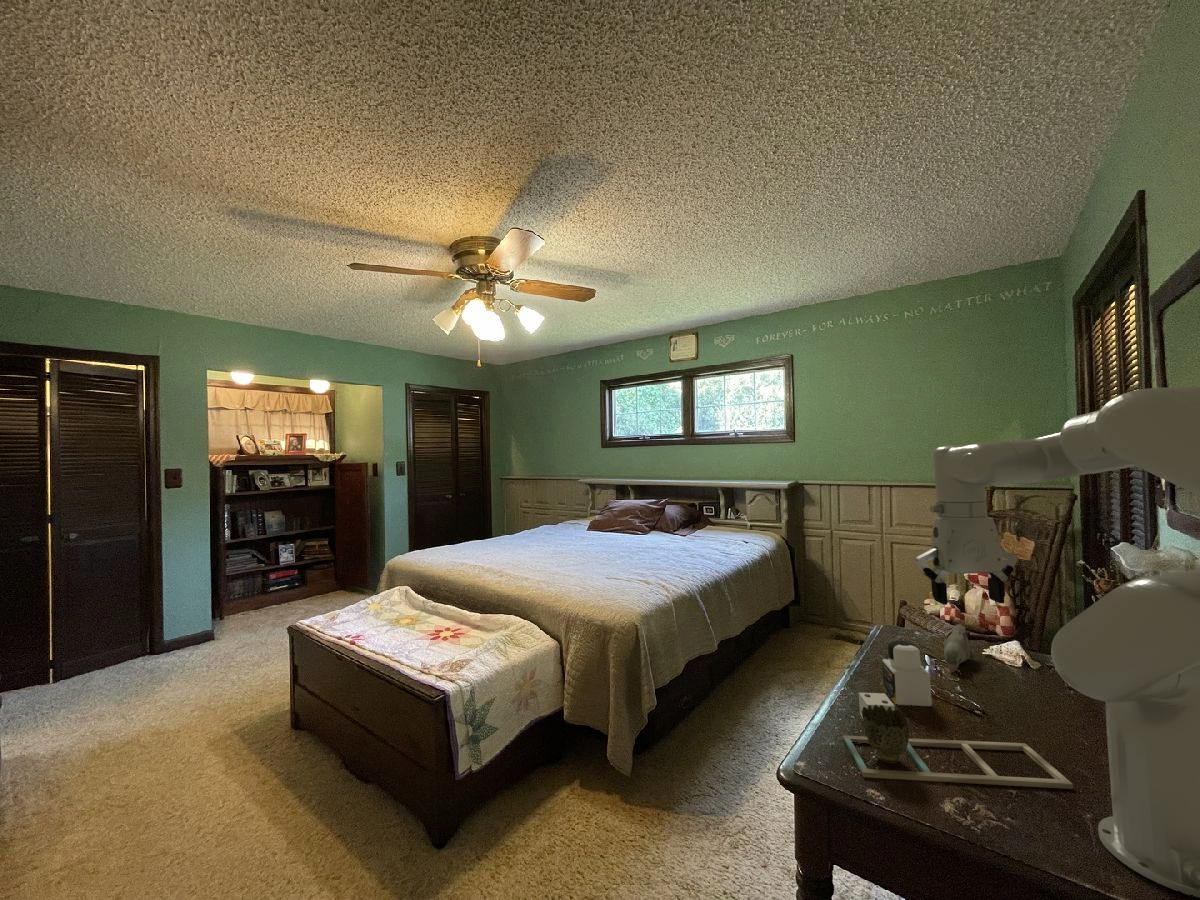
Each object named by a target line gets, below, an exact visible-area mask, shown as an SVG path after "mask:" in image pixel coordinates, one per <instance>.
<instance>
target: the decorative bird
mask: <svg viewBox="0 0 1200 900" xmlns="http://www.w3.org/2000/svg"><path fill="white" fill-rule="evenodd" d="M943 654H944V655H943V659H944V661H945V663H946V666H947V668H948V670H949V671H950V672H951V673H952V672H953V673H955V672H956V671H957V670H958V668H959V666H960V664H962V663H964V662H966V661H967V660H969V658H970V655H971V654H973V652H972V650H971V645H970V641H969V639H968V636H967V634H966V627H965V626H963V625H962V624H959V623H958V624H955V625H954V627H953V626H952V631H951V632H948V634H946V636H945V638H944V642H943Z"/></svg>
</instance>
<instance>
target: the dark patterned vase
mask: <svg viewBox="0 0 1200 900" xmlns="http://www.w3.org/2000/svg"><path fill="white" fill-rule="evenodd" d="M905 714H906V713H904V712H902V711H901V710H900V708H895V710H893V711H892V709H891V707H890V706H889V707H888V710H887V711H886V709H885V708H884V707H883V705H880V707H878V706H877V705H874V707H873V710H872V708H871V706H870V705H869V706H868V710H867V708H865V707H863V711H862V716H863V720H862V722H863V721H864V722H863V725H864V730H865V734H866V737H867V739H868V741H869V743H870V744H869V745H870V746H871V747H872V748H873V749H874V750H875V754H876V756H877V758H878V759H879V760H880V761H881V762H883V763H886V764H890V765H892V764H894V765H895V764H898V763H899V761H900V759H901V755H903V754H904V753H905V752H906V749H907V746H908V739H909V738H910V737H909V736H910V735H909V734H910V724H911V723H910V722H911V719H910V718H908V719H907V718H906V715H905Z"/></svg>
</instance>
